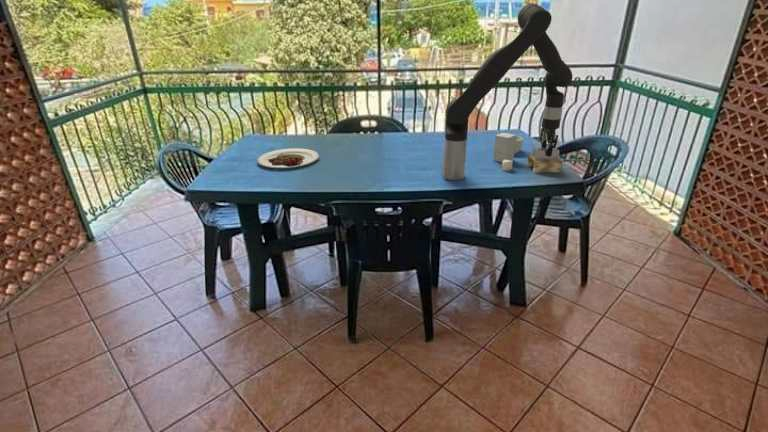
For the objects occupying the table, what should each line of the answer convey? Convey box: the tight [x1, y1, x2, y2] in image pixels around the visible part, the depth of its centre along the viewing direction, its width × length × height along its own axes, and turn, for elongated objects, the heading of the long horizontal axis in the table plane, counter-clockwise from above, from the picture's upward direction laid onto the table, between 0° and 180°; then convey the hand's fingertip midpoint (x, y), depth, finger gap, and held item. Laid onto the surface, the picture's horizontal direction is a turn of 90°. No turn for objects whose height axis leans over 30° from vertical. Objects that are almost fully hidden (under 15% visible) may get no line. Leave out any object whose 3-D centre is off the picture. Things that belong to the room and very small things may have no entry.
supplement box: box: [492, 132, 517, 163], centre depth 198 cm, size 7×7×13 cm
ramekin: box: [514, 135, 524, 155], centre depth 212 cm, size 13×13×7 cm
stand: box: [526, 154, 564, 173], centre depth 188 cm, size 12×10×5 cm
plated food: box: [256, 148, 319, 169], centre depth 205 cm, size 30×30×3 cm
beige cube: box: [501, 160, 514, 172], centre depth 188 cm, size 4×4×4 cm
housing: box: [531, 146, 560, 160], centre depth 186 cm, size 10×5×4 cm, turn 89°
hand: (545, 153), depth 186 cm, fingers open, 6 cm apart
